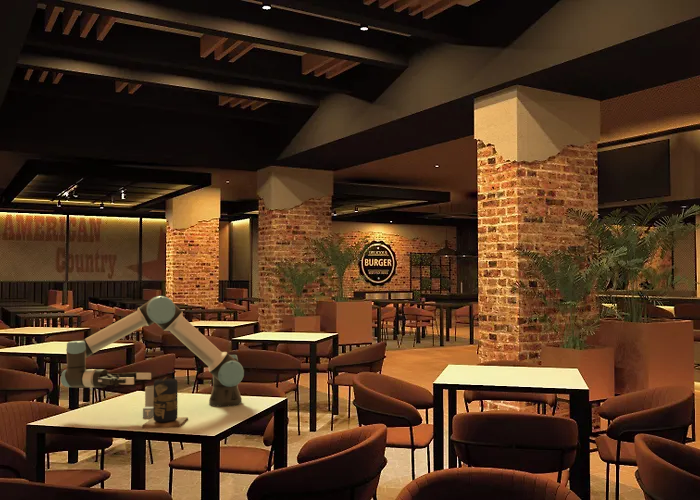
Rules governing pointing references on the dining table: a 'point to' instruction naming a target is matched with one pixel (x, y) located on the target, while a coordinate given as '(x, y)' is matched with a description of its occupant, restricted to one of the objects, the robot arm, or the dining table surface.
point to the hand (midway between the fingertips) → (142, 378)
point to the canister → (165, 400)
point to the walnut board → (165, 423)
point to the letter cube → (148, 412)
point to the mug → (149, 396)
